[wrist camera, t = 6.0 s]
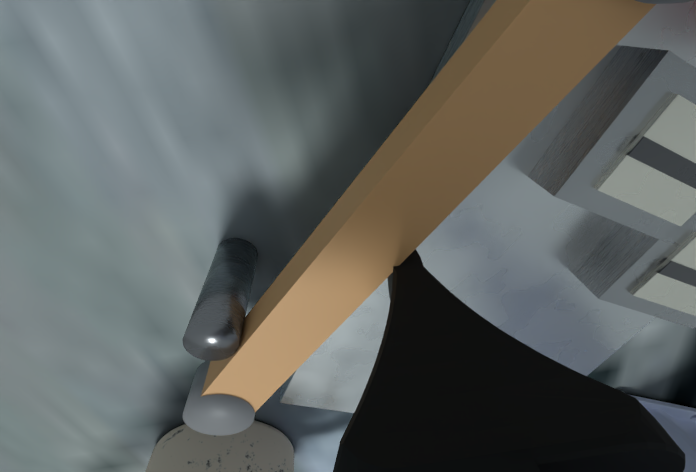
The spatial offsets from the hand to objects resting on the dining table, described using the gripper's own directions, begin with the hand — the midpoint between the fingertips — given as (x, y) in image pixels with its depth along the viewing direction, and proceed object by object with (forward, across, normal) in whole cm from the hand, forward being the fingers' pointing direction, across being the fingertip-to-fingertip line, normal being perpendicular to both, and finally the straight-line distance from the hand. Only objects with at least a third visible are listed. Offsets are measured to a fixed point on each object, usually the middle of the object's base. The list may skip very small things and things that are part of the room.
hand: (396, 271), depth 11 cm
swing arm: (+2, +1, -2) cm, 3 cm away
